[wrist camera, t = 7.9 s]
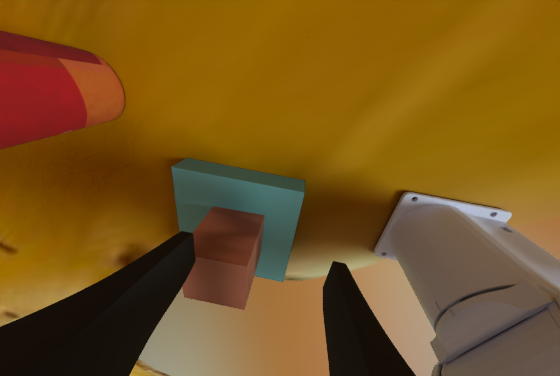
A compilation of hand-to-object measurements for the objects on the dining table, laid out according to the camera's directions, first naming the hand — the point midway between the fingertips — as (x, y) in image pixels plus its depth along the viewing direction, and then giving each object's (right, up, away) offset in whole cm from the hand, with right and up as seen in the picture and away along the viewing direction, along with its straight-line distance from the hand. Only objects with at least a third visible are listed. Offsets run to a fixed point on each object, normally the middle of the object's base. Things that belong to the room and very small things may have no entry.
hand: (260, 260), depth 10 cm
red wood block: (-3, -1, +10) cm, 10 cm away
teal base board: (-3, +1, +13) cm, 13 cm away
